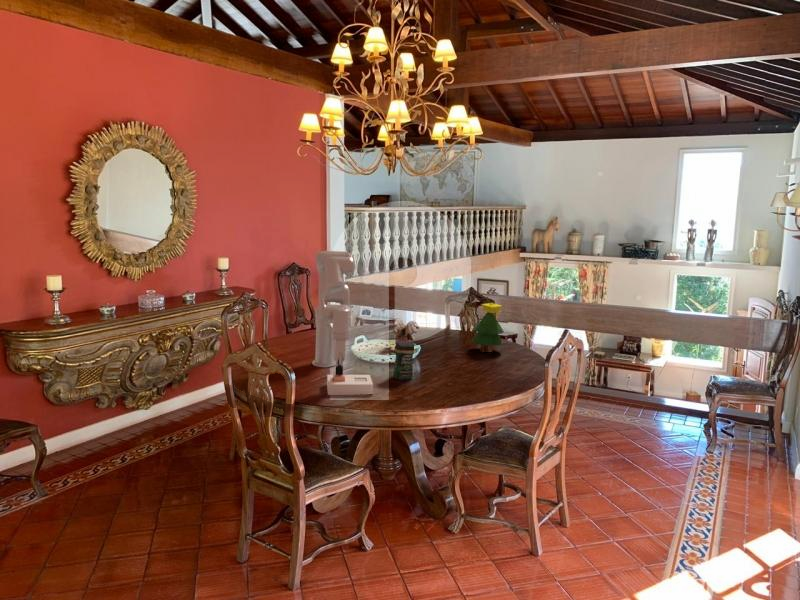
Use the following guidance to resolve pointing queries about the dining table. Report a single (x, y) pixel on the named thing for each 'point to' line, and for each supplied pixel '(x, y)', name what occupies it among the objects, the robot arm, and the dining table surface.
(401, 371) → the coffee jar
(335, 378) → the terracotta button
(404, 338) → the cherub figurine
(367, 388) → the button panel
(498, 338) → the decorative tree
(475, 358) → the dining table surface
